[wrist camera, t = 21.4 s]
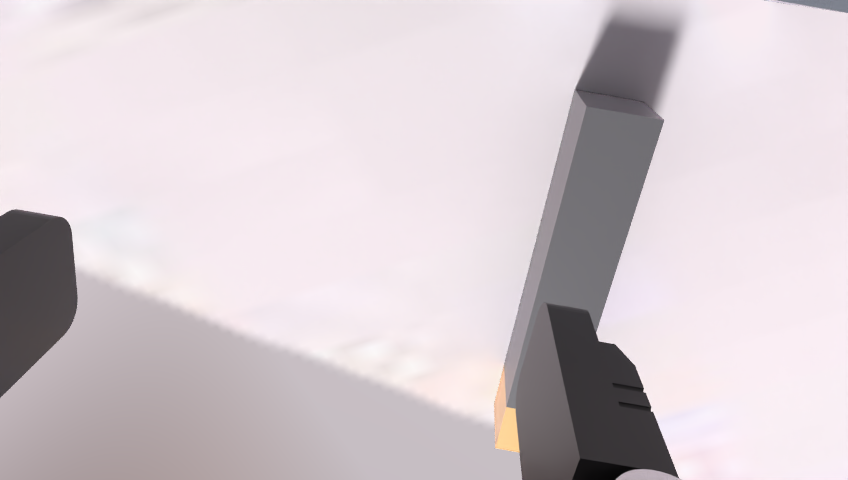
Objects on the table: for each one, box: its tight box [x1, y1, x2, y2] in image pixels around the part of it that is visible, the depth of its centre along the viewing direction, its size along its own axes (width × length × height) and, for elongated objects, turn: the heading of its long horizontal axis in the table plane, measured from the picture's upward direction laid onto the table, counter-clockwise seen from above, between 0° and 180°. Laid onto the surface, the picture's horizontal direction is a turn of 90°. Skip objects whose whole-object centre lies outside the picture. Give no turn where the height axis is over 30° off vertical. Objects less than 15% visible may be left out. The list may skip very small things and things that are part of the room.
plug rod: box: [494, 90, 664, 453], centre depth 34 cm, size 4×20×4 cm, turn 171°
